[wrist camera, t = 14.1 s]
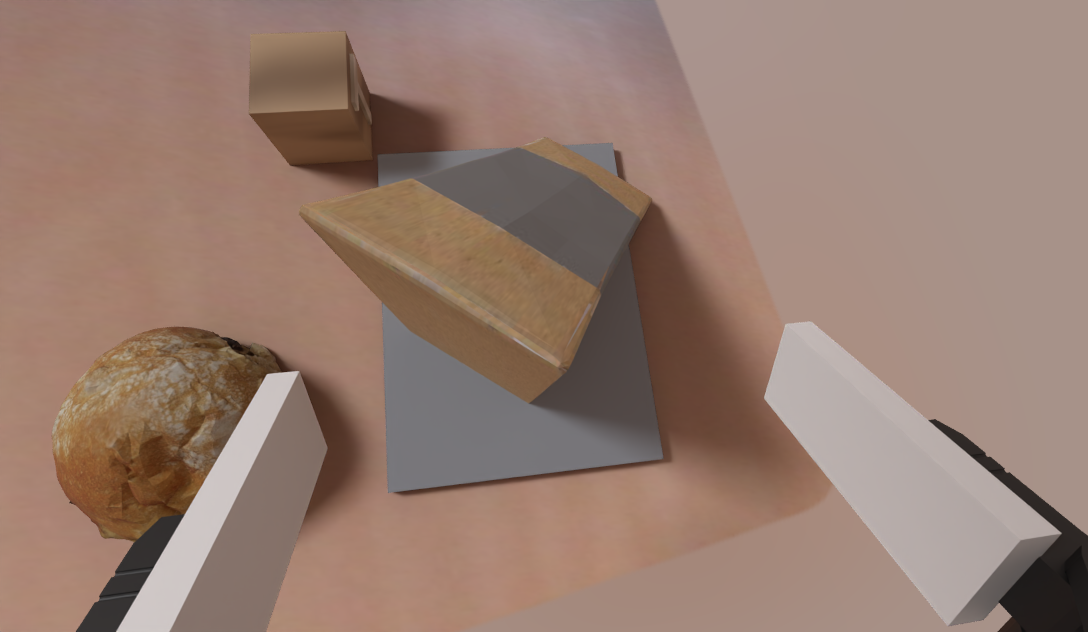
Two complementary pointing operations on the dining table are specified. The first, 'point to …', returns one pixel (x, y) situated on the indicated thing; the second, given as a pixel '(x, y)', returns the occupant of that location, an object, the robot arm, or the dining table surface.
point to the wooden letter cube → (310, 97)
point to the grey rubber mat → (501, 417)
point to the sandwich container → (491, 255)
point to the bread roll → (152, 424)
